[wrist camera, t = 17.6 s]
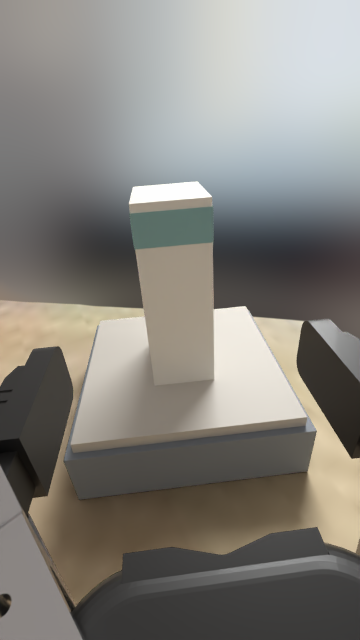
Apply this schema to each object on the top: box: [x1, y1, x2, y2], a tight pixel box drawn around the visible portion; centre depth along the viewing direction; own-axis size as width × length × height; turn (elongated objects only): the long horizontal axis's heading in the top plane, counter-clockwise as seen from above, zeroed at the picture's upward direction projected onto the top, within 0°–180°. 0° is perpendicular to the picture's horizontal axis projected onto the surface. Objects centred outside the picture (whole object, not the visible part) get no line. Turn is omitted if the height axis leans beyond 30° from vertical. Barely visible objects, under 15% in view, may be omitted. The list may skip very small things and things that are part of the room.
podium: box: [64, 306, 317, 500], centre depth 28 cm, size 16×16×5 cm
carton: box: [129, 182, 214, 386], centre depth 23 cm, size 5×6×13 cm
